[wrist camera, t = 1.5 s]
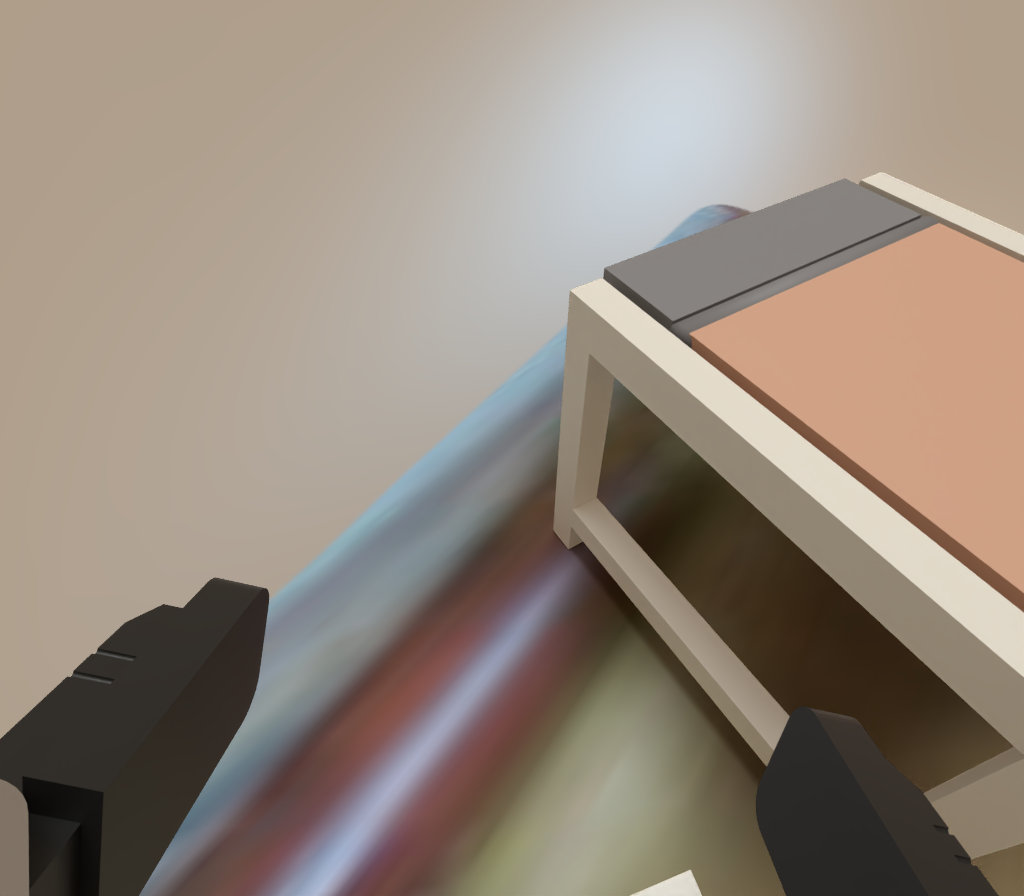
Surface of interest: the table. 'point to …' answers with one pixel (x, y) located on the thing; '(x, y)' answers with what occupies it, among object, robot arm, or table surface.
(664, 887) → the plain beige rectangular block
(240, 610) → the robot arm
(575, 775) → the table surface
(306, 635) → the table surface
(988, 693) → the trapdoor stand
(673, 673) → the table surface
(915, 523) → the trapdoor
